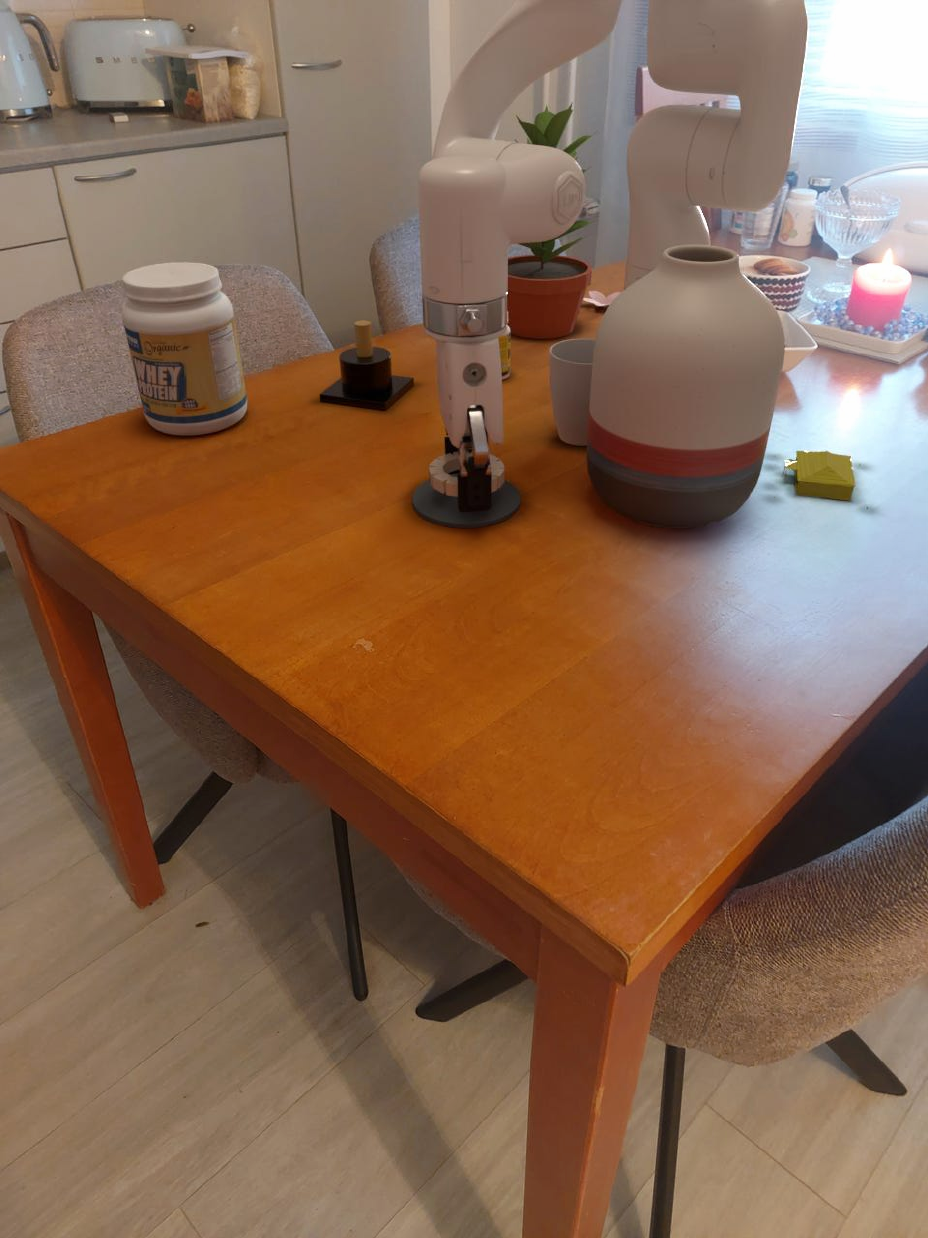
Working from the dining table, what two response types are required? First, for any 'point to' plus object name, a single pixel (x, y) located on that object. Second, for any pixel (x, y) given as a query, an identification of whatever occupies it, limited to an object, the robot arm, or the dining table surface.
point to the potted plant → (547, 260)
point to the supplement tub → (184, 348)
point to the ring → (451, 463)
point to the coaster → (447, 512)
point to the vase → (683, 391)
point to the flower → (601, 298)
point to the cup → (571, 388)
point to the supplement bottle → (505, 352)
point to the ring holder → (366, 375)
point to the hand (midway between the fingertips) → (467, 489)
